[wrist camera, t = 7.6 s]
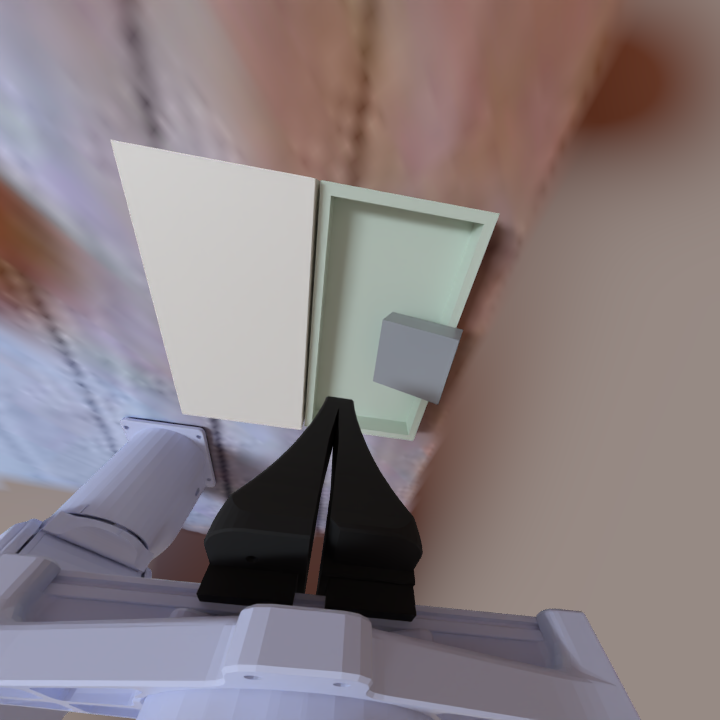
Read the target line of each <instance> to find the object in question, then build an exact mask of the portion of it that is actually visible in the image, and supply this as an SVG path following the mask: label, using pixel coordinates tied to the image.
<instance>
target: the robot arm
mask: <svg viewBox="0 0 720 720" xmlns="http://www.w3.org/2000/svg"><path fill="white" fill-rule="evenodd" d="M120 424H121V426H122V429H123V431H124V433H125V436H126V438H127V440H128V442H127V443H126V444H125V445H124V446H123V447H122V448H121V449H120V450H119V451H118V452H117V453H116V454H115V455H114V456H113V457H112V458H111V459H110V460H109V461H108V462H107V463H106V464H104V465H103V466H102V467H101V468H100V469H99V470H98V471H97V472H96V473H95V474H94V475H93V476H92V477H91V478H90V479H89V480H88V481H87V482H86V483H85V484H84V485H83V486H82V487H81V488H80V489H79V490H78V491H77V492H76V493H75V494H74V495H73V496H71V497H70V498H69V499H68V500H67V501H66V502H65V503H64V504H63V505H62V506H61V507H60V508H59V509H58V510H57V511H56V512H55V513H54V514H53V515H52V516H51V517H49V518H48V519H46V520H44V521H43V522H42V521H39V520H37V519H31V520H29V521H27V522H22V523H18V524H15V525H13V526H12V527H10V528H9V529H8V530H6V531H5V532H4V533H2V534H1V535H0V720H62V719H63V717H64V716H65V715H66V714H67V713H68V712H69V711H71V712H79V713H88V714H98V715H107V716H117V717H125V718H134V719H136V720H641V719H640V717H639V715H638V713H637V711H636V710H635V708H634V706H633V704H632V702H631V700H630V698H629V697H628V695H627V693H626V691H625V689H624V687H623V685H622V683H621V681H620V679H619V678H618V676H617V674H616V672H615V670H614V668H613V666H612V664H611V663H610V661H609V659H608V657H607V655H606V653H605V651H604V650H603V648H602V646H601V644H600V642H599V640H598V638H597V636H596V634H595V632H594V631H593V629H592V627H591V625H590V623H589V621H588V619H587V617H586V616H585V614H584V613H583V612H581V611H573V610H563V609H546V610H543V611H541V612H540V613H538V614H537V616H536V617H531V616H522V615H511V614H502V613H492V612H482V611H472V610H462V609H452V608H442V607H431V606H421V605H415V599H414V590H413V586H414V585H415V577H414V568H415V567H416V564H417V563H418V562H419V559H420V558H421V556H422V552H423V551H422V544H421V539H420V535H419V532H418V529H417V525H416V522H415V519H414V517H413V516H412V514H411V513H410V512H409V511H408V510H407V508H406V507H405V506H404V505H403V503H402V502H401V501H400V500H399V498H398V497H397V496H396V494H395V493H394V491H393V490H392V489H391V487H390V486H389V484H388V483H387V481H386V480H385V478H384V476H383V475H382V473H381V472H380V470H379V468H378V467H377V465H376V463H375V461H374V459H373V457H372V455H371V453H370V451H369V449H368V447H367V445H366V442H365V440H364V437H363V435H362V432H361V429H360V426H359V423H358V420H357V416H356V412H355V407H354V401H353V400H352V399H345V398H338V397H331V396H328V397H326V399H325V401H324V403H323V405H322V407H321V409H320V410H319V412H318V413H317V415H316V416H315V418H314V419H313V421H312V422H311V423H310V425H309V426H308V427H307V429H306V430H305V431H304V432H303V434H302V435H301V436H300V437H299V438H298V439H297V441H296V442H295V443H294V444H293V445H292V446H291V447H290V448H289V449H288V450H287V451H286V452H285V453H284V454H283V455H282V456H281V457H280V458H279V459H277V460H276V461H275V462H274V463H273V464H272V465H271V466H269V467H268V468H267V469H266V470H264V471H263V472H262V473H261V474H259V475H258V476H257V477H256V478H254V479H253V480H252V481H250V482H249V483H247V484H246V485H244V486H243V487H241V488H240V489H239V490H237V491H236V492H234V493H233V494H231V495H230V497H229V498H228V499H227V501H226V502H225V503H224V505H223V506H222V508H221V509H220V511H219V512H218V514H217V516H216V517H215V519H214V521H213V523H212V525H211V527H210V529H209V531H208V533H207V535H206V537H205V539H204V546H205V549H206V552H207V556H208V559H209V562H210V564H209V566H208V569H207V571H206V573H205V575H204V577H203V580H202V582H201V583H193V582H181V581H173V580H163V579H152V578H151V577H152V573H151V570H150V569H149V568H148V567H147V566H148V565H149V563H150V561H151V560H152V559H154V558H155V557H157V556H158V555H159V554H161V553H162V552H163V551H164V550H165V549H166V548H167V547H168V546H169V545H170V544H171V543H172V542H173V540H174V539H175V537H176V536H177V534H178V533H179V531H180V529H181V527H182V526H183V524H184V522H185V521H186V519H187V517H188V515H189V514H190V512H191V510H192V509H193V507H194V505H195V504H196V502H197V500H198V498H199V497H200V495H201V493H202V492H203V490H204V488H205V487H214V486H215V484H216V481H215V476H214V472H213V467H212V462H211V458H210V453H209V448H208V443H207V439H206V434H205V431H204V429H202V428H200V427H192V426H185V425H177V424H170V423H162V422H155V421H147V420H140V419H132V418H123V419H122V420H121V421H120ZM332 447H333V455H332V474H331V490H330V500H329V507H328V514H327V521H326V528H325V536H324V543H323V550H322V557H321V564H320V571H319V578H318V585H317V592H316V595H312V594H305V589H306V583H307V576H308V570H309V564H310V558H311V551H312V546H313V539H314V533H315V527H316V521H317V515H318V509H319V503H320V497H321V492H322V487H323V483H324V479H325V475H326V471H327V467H328V463H329V459H330V455H331V451H332Z"/></svg>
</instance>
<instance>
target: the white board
mask: <svg viewBox="0 0 720 720" xmlns="http://www.w3.org/2000/svg"><path fill="white" fill-rule="evenodd" d="M111 144H112V148H113V152H114V155H115V159H116V163H117V167H118V171H119V174H120V178H121V182H122V186H123V190H124V194H125V197H126V201H127V205H128V209H129V213H130V216H131V220H132V224H133V228H134V232H135V235H136V239H137V243H138V247H139V251H140V254H141V258H142V262H143V266H144V270H145V274H146V277H147V281H148V285H149V289H150V293H151V296H152V300H153V304H154V308H155V312H156V315H157V319H158V323H159V327H160V331H161V335H162V338H163V342H164V346H165V350H166V354H167V357H168V361H169V365H170V369H171V373H172V376H173V380H174V384H175V388H176V392H177V396H178V399H179V403H180V407H181V411H182V414H186V415H194V416H201V417H209V418H216V419H223V420H231V421H238V422H246V423H253V424H260V425H268V426H275V427H283V428H290V429H297V430H301V428H302V425H303V422H304V419H305V412H306V397H307V382H308V366H309V351H310V336H311V321H312V305H313V290H314V275H315V259H316V244H317V229H318V214H319V198H320V183H321V181H319V180H317V179H315V178H310V177H305V176H300V175H295V174H289V173H284V172H279V171H273V170H268V169H263V168H257V167H252V166H247V165H241V164H236V163H231V162H226V161H220V160H215V159H210V158H204V157H199V156H194V155H188V154H183V153H178V152H173V151H167V150H162V149H157V148H151V147H146V146H141V145H135V144H130V143H125V142H120V141H114V140H111Z"/></svg>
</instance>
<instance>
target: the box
mask: <svg viewBox="0 0 720 720" xmlns="http://www.w3.org/2000/svg"><path fill="white" fill-rule="evenodd" d="M498 217H499V214H498V213H493V212H487V211H482V210H477V209H472V208H466V207H461V206H456V205H450V204H445V203H440V202H434V201H429V200H424V199H418V198H413V197H408V196H403V195H397V194H392V193H387V192H381V191H376V190H371V189H365V188H360V187H355V186H350V185H344V184H339V183H334V182H328V181H323V180H321V183H320V198H319V214H318V229H317V244H316V259H315V275H314V290H313V305H312V321H311V336H310V351H309V366H308V382H307V397H306V412H305V426H309V425H310V423H311V422H312V421H313V419H314V418H315V416H316V415H317V413H318V412H319V410H320V409H321V407H322V405H323V403H324V401H325V399H326V397H328V396H331V397H338V398H345V399H352V400H353V401H354V407H355V412H356V416H357V420H358V423H359V426H360V429H361V432H362V434H366V435H374V436H381V437H389V438H396V439H403V440H411V441H413V440H414V438H415V435H416V432H417V430H418V427H419V424H420V422H421V419H422V417H423V414H424V411H425V409H426V406H427V403H428V401H426V400H423V399H421V398H418V397H415V396H412V395H410V394H407V393H404V392H401V391H398V390H396V389H393V388H390V387H387V386H385V385H382V384H379V383H376V382H374V381H373V377H374V371H375V364H376V358H377V352H378V346H379V340H380V333H381V327H382V321H383V319H384V318H385V317H387V316H388V315H389V314H391V313H392V312H395V313H399V314H403V315H407V316H411V317H415V318H419V319H423V320H426V321H430V322H434V323H438V324H442V325H446V326H450V327H454V328H456V327H457V324H458V322H459V319H460V317H461V314H462V311H463V309H464V306H465V303H466V301H467V298H468V295H469V293H470V290H471V288H472V285H473V282H474V280H475V277H476V274H477V272H478V269H479V267H480V264H481V261H482V259H483V256H484V253H485V251H486V248H487V245H488V243H489V240H490V238H491V235H492V232H493V230H494V227H495V224H496V222H497V219H498Z"/></svg>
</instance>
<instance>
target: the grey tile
mask: <svg viewBox="0 0 720 720" xmlns="http://www.w3.org/2000/svg"><path fill="white" fill-rule="evenodd" d="M462 332H463V330H462V329H458V328H454V327H450V326H446V325H442V324H438V323H434V322H430V321H426V320H423V319H419V318H415V317H411V316H407V315H403V314H399V313H395V312H392V313H391V314H389V315H388V316H387V317H385V318H384V319H383V321H382V327H381V333H380V340H379V346H378V352H377V358H376V364H375V371H374V377H373V381H374V382H376V383H379V384H382V385H385V386H387V387H390V388H393V389H396V390H398V391H401V392H404V393H407V394H410V395H412V396H415V397H418V398H421V399H423V400H426V401H429V402H432V403H434V404H437V405H438V403H439V401H440V398H441V395H442V392H443V389H444V386H445V383H446V380H447V377H448V374H449V371H450V368H451V365H452V362H453V359H454V356H455V353H456V350H457V347H458V344H459V341H460V338H461V335H462Z"/></svg>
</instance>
